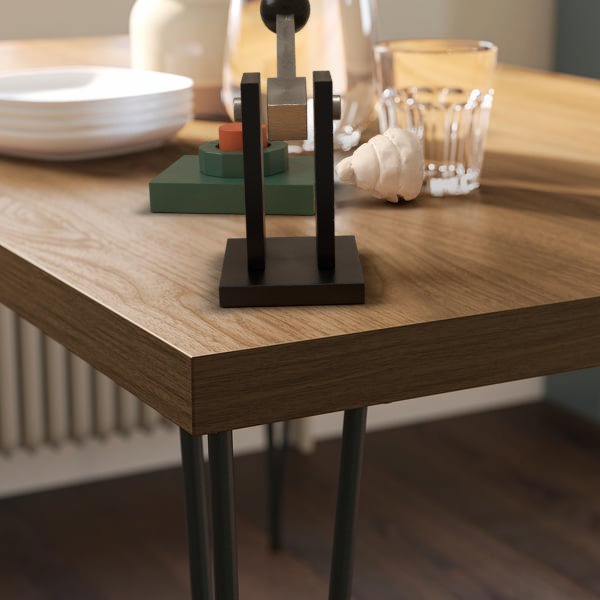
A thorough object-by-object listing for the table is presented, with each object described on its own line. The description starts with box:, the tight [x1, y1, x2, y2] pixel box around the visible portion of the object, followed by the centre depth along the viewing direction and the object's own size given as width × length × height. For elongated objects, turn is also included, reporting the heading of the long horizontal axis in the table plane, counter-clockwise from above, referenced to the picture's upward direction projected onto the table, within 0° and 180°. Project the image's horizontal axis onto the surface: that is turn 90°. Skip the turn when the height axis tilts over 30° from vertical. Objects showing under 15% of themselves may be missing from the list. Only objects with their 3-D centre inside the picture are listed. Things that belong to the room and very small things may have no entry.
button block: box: [148, 137, 315, 216], centre depth 89 cm, size 12×10×4 cm
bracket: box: [218, 70, 366, 308], centre depth 67 cm, size 10×8×12 cm
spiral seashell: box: [334, 126, 425, 203], centre depth 86 cm, size 6×6×5 cm
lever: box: [259, 0, 311, 142], centre depth 70 cm, size 14×3×3 cm, turn 1°
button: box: [218, 122, 268, 151], centre depth 88 cm, size 4×4×2 cm
